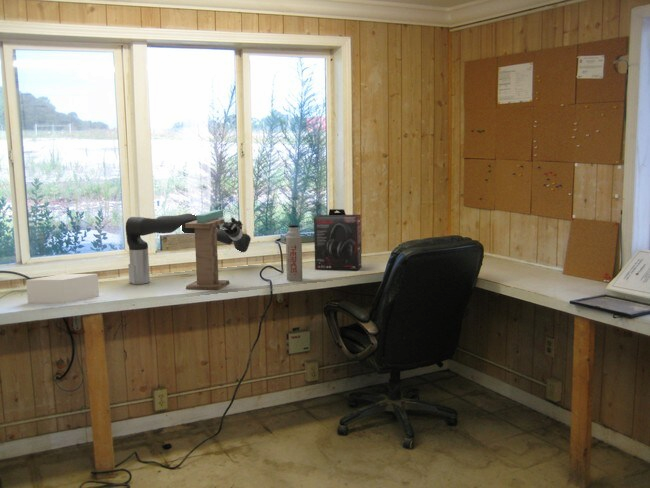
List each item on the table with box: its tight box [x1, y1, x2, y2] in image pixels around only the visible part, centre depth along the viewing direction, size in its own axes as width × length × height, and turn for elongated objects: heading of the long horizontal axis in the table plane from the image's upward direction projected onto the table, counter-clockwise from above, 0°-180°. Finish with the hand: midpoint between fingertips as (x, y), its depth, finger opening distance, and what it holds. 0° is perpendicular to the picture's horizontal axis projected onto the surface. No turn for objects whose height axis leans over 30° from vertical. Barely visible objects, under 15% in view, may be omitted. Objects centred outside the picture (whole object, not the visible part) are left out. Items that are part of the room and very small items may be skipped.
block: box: [25, 273, 100, 304], centre depth 296 cm, size 15×30×11 cm, turn 114°
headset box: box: [313, 208, 362, 271], centre depth 361 cm, size 24×13×33 cm, turn 77°
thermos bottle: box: [285, 224, 303, 282], centre depth 331 cm, size 8×8×28 cm
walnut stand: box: [185, 218, 230, 291], centre depth 319 cm, size 20×16×32 cm
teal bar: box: [196, 209, 224, 223], centre depth 323 cm, size 26×4×4 cm, turn 168°
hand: (224, 219), depth 340 cm, fingers open, 8 cm apart
